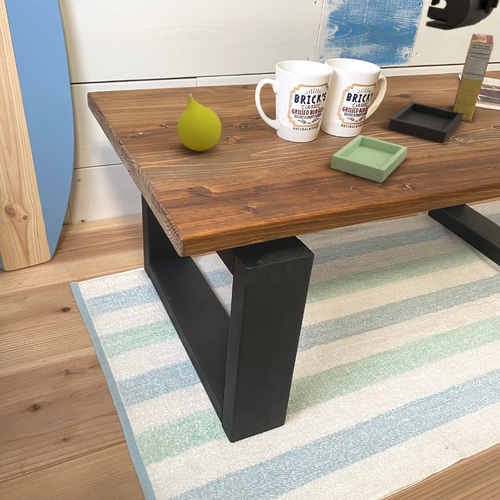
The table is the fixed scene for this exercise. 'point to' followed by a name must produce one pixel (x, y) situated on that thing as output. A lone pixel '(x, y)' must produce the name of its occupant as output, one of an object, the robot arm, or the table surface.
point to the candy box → (473, 74)
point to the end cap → (457, 14)
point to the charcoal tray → (426, 121)
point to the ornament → (198, 126)
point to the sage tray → (369, 158)
